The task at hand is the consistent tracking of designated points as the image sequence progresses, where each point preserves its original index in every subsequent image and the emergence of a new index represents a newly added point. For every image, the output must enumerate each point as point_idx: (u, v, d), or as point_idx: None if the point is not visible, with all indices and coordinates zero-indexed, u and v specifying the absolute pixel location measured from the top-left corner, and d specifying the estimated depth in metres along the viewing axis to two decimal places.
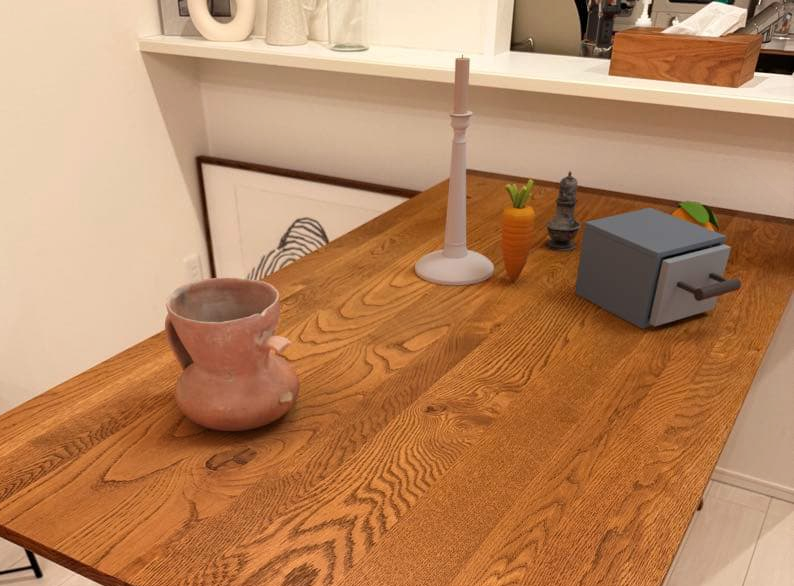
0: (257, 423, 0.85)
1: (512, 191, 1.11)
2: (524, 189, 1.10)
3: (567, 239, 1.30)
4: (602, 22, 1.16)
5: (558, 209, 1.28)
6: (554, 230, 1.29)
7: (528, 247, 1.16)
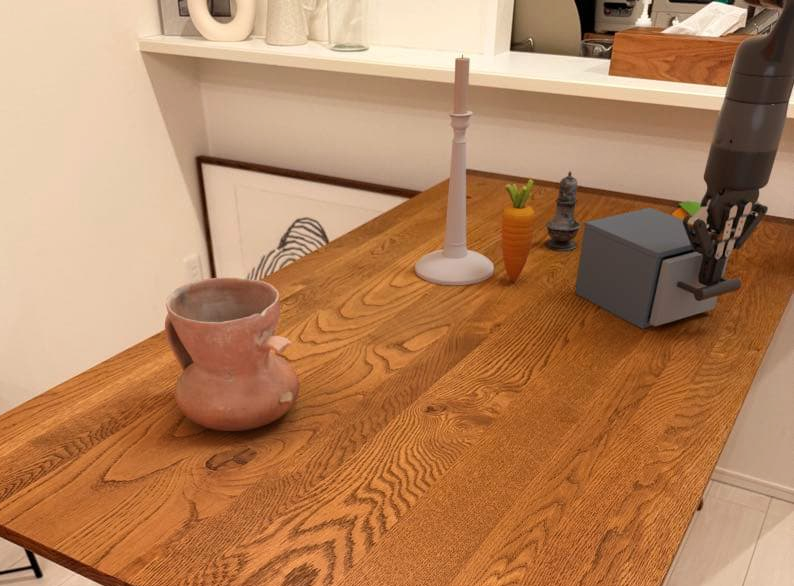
0: (257, 423, 0.85)
1: (512, 191, 1.11)
2: (524, 189, 1.10)
3: (567, 239, 1.30)
4: None
5: (558, 209, 1.28)
6: (554, 230, 1.29)
7: (528, 247, 1.16)
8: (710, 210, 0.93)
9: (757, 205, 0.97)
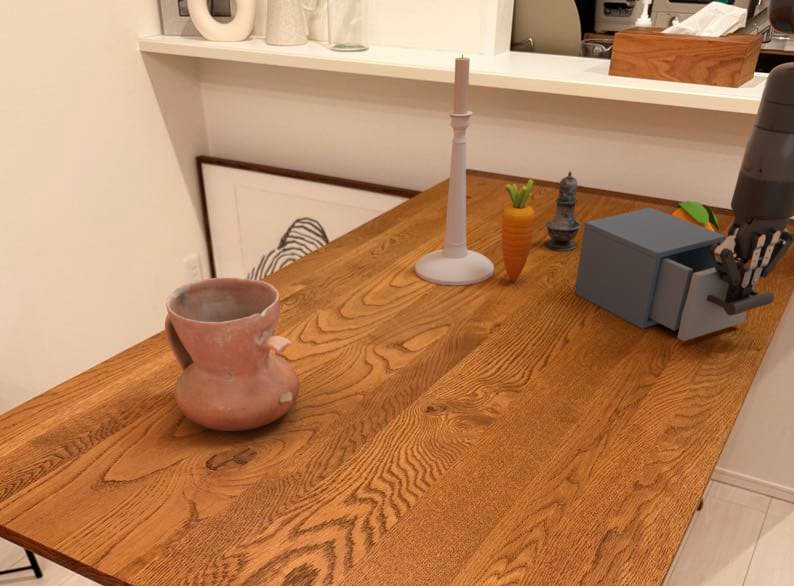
0: (257, 423, 0.85)
1: (512, 191, 1.11)
2: (524, 189, 1.10)
3: (567, 239, 1.30)
4: None
5: (558, 209, 1.28)
6: (554, 230, 1.29)
7: (528, 247, 1.16)
8: (738, 239, 0.91)
9: (785, 233, 0.95)
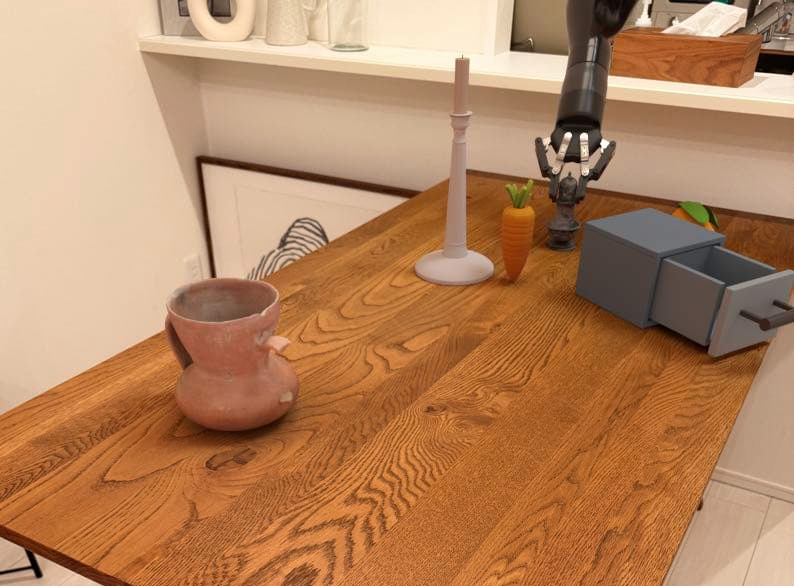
0: (257, 423, 0.85)
1: (512, 191, 1.11)
2: (524, 189, 1.10)
3: (567, 239, 1.30)
4: None
5: (558, 209, 1.28)
6: (554, 230, 1.29)
7: (528, 247, 1.16)
8: (550, 138, 1.26)
9: (607, 144, 1.25)
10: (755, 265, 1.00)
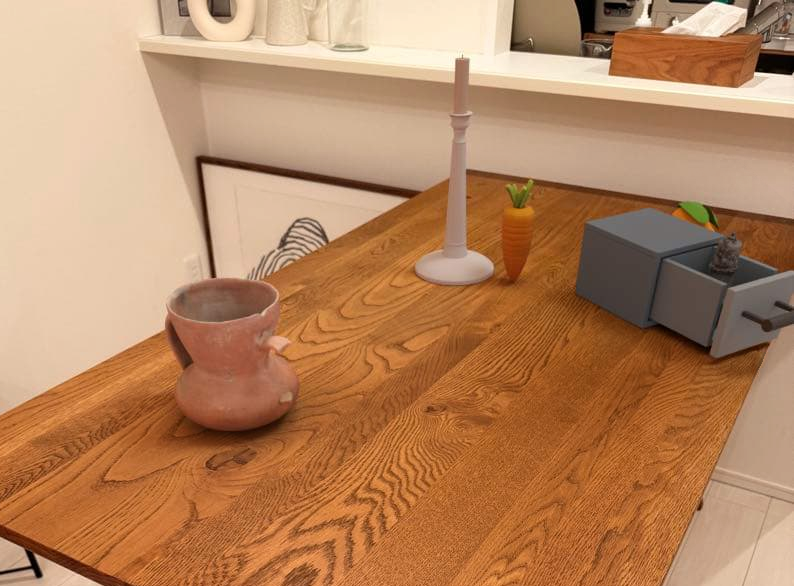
0: (257, 423, 0.85)
1: (512, 191, 1.11)
2: (524, 189, 1.10)
3: None
4: None
5: (713, 277, 0.99)
6: None
7: (528, 247, 1.16)
8: None
9: None
10: (757, 266, 1.00)
